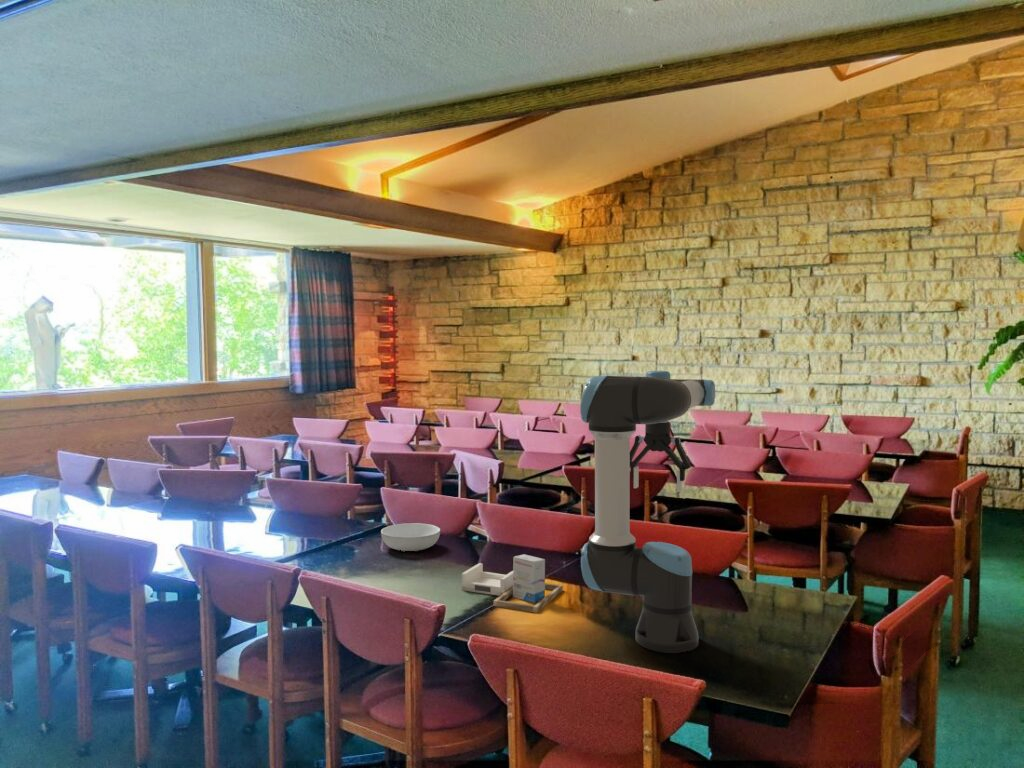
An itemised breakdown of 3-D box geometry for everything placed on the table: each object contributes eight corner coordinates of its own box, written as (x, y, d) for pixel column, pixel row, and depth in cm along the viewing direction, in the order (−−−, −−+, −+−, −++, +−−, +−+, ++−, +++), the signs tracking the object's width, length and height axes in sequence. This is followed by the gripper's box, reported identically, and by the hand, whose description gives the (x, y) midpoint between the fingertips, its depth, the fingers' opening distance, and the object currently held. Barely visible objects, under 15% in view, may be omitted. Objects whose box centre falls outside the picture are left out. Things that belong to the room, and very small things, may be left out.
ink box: (546, 599, 213) (546, 558, 213) (534, 603, 210) (534, 562, 209) (523, 592, 219) (523, 552, 219) (512, 596, 216) (512, 556, 215)
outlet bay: (503, 596, 216) (503, 579, 215) (461, 590, 221) (461, 573, 221) (520, 584, 226) (520, 568, 226) (479, 579, 232) (479, 563, 232)
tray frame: (536, 612, 203) (536, 607, 203) (493, 606, 208) (493, 600, 208) (562, 590, 221) (562, 585, 221) (522, 584, 226) (522, 579, 226)
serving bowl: (437, 556, 257) (436, 537, 256) (376, 556, 257) (375, 537, 256) (443, 540, 277) (443, 522, 277) (387, 540, 278) (386, 522, 277)
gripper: (701, 421, 228) (700, 490, 229) (622, 418, 239) (622, 484, 240) (695, 424, 221) (694, 495, 222) (615, 420, 233) (614, 488, 234)
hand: (657, 489), depth 231 cm, fingers open, 13 cm apart
